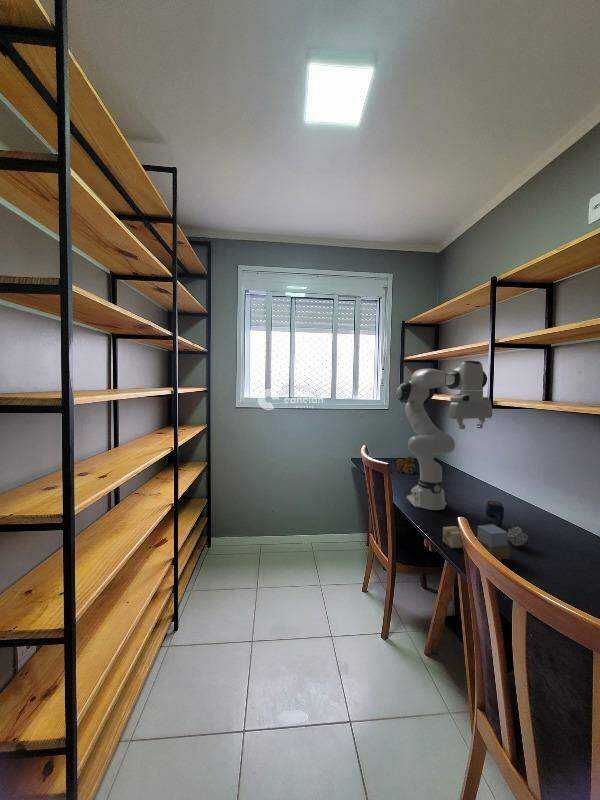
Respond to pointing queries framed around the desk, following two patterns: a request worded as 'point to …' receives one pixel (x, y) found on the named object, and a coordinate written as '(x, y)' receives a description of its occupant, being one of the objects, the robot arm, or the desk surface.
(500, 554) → the walnut plinth
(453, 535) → the maple block
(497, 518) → the soda can
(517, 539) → the game die
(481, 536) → the slate block
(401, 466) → the stuffed squirrel
